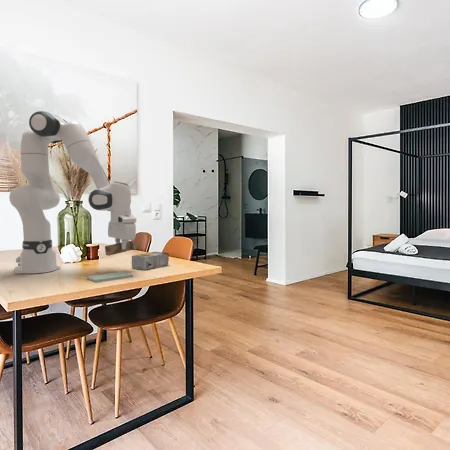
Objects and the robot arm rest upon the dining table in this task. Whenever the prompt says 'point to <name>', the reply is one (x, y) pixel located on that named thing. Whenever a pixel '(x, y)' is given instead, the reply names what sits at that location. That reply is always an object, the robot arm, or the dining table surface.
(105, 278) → the mat
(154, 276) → the dining table surface
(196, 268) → the dining table surface
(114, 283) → the dining table surface
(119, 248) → the brown wooden block
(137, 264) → the coffee box
